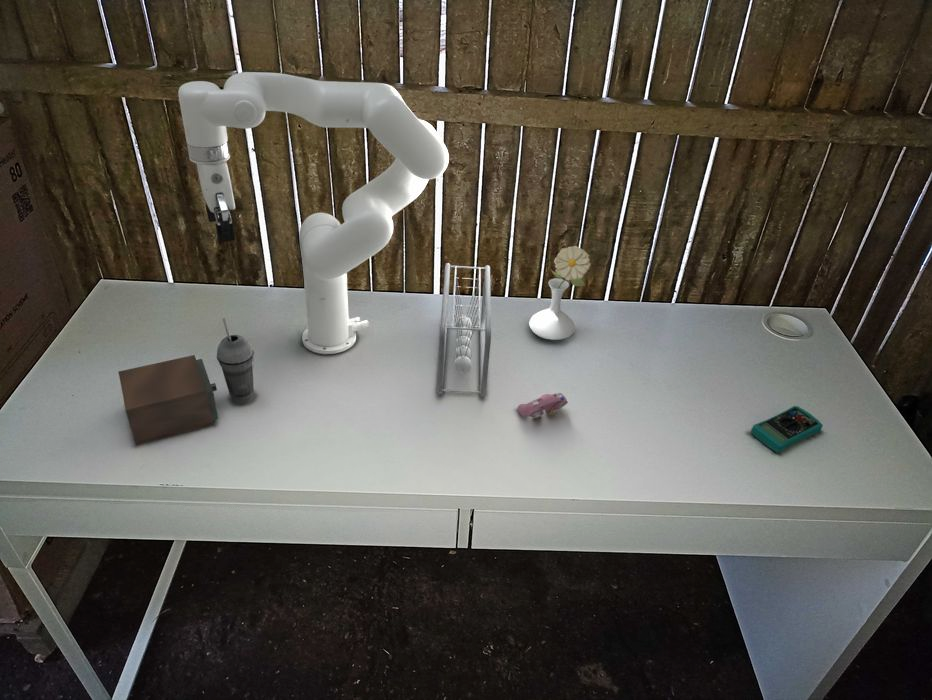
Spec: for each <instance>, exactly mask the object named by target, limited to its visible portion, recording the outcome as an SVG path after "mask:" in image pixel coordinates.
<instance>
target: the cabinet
mask: <svg viewBox="0 0 932 700" xmlns="http://www.w3.org/2000/svg"><path fill="white" fill-rule="evenodd" d="M197 360H198V359H197V357H196V355H195V354H193V355H188V356H183V357H179V358H174V359H170V360H165V361H161V362H155V363H151V364H147V365H142V366H141V365H140V366H136V367H132V368H128V369H124V370H119V371H118V377H119V383H120V388H121V393H122V399H123V403H124V409H125V413H126V417H127V420H128V423H129V427H130V430H131V433H132V436H133V440H134V444H135V446H139V445H142V444H146V443H150V442H153V441H157V440H161V439H162V440H163V439H166V438H170V437H173V436H178V435H181V434H185V433H189V432H193V431H197V430H200V429H205V428H208V427H213V426H214V420H212V415H211V411H210V406H209V401H208V396H207V391H206V388H205V385H204V382H203V379H202V376H201V372H200V369H199V366H198V363H197Z"/></svg>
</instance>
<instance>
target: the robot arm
mask: <svg viewBox="0 0 932 700" xmlns="http://www.w3.org/2000/svg"><path fill="white" fill-rule="evenodd" d="M177 95H178V100H179V101H178V102H179V109H180V113H181V119H182V124H183V131H184V136H185V140H186V141H185V142H186V147H187V152H188V156H189V157H188V159H189V161H190V162H192V163H194V164H196V169H197V175H198V180H199V185H200V189H201V193H202V197H203V200H204V201H205V208H206V214H207V220H208V222H210V223H214V222H216V223H215V231H216V236H217V241H218V243H219V244H221V243H227V242H234V241H235V240H236V237H235V231H234V224H233V223H234V222H233V221H232V216H231V213H230V211H231V210H232V211H234V210H235V209H236V202H235V197H234V193H233V192H234V191H233V185H232V179H231V176H230V171H229V167H228V163H227V162H228V160H230V158H231V153H230V145H229V138H228V131H227V130H228V129H227V128H235V129H247V130H248V129H253V128H255V127H257V126H259V125H260V124H261V123H262V122H263V121H264V120H265V117H266V112H282V113H288V114H291V115H292V114H293V115H295V116H298V117H300V118H302V119H304V120H305V121H307V122H309V123H310V124H313V125H315V126H317V127H320V128H326V129H327V128H337V129H338V128H340V129H341V128H344V129H345V128H346V129H347V128H349V129H368V130H369V131H370V133H371V135H372V136H373V137H374V138H375V139H376V140H377V142H379V143H380V144H381V146H383V148H384V149H386V150H387V152H389V153H390V154H391V155H392V156H393V157H394V158H395V159H394V160H393V161H392V163H391V165H390V166H389V167H388V168H386V169H385V170H384V171H383V172H381V173H380V174H379V175H378V176H376V177H375V178H373V179H372V180H370V181H369V182H367V183H366V184H364V185H363V186H361V187H360V188H358V189H356V190H355V191H354V192H352V193H350V194H349V195H348V196H347V197H346V198H345V199H344V200H343V202H342V205H341V206H342V207H341V212H342V213H341V214H342V218H343V221H344V222H343V223H342V224H341V222H340V221H339V220H338V219H337V218H336V217H335V216H333V215H332V214H330V213H327V212H315V213H312V214H310V215H309V216H307V217H306V218H305V219H304V221H302V223H301V226H300V229H299V235H298V238H299V239H298V241H299V247H300V254H301V264H302V265H301V266H302V274H303V282H304V283H303V285H304V286H303V287H304V299H305V309H306V310H305V311H306V322H307V327H306V328H305V329H304V331H303V332H302V335H301V338H302V341H301V342H302V343H303V346H304V347H305V348H306V349H308V350H309V351H310V352H313V353H316V354H320V355H334V354H339V353H343V352H345V351H347V350H349V349H350V348H351V347H352V346H354V344H355V343H356V341H357V331H358V330H364V329H369V328H370V323H369V321H368V319H365V320H361V318H360V316H356V317H352V318H350V317H349V299H348V296H349V295H348V272H350V271H351V270H353V269H355V268H357V267H358V266H359V265H361V264H362V263H364V262H365V261H367V260H368V259H370V258H371V257H373V256H375V255H376V254H378V253H379V252H380V251H382V250H383V249H384V248H385V247H386V246H387V245H388V244H389V242H390V240H391V238H392V236H393V234H394V221H393V218H392V217H393V216H395V215H396V214H397V213H399V212H401V211H402V210H403V209H404V208H406V207H407V206H408V205H410V204H411V203H412V202H414V201H415V200H416V199H417V198H418V197H419V196H420V195H421V194H422V192H423V191H424V190H425V188H426V186H427V184H428V182H429V180H433V179H437V178H439V177H440V176H442V175H443V174H444V173H445V171H446V169H447V168H448V165H449V160H450V155H449V154H450V153H449V151H448V148H447V146H446V144H445V143H444V141H443V140H442V138H441V137H440V135H439V133H438V132H437V131H436V129H435V128H434V127H433V125H431V124H430V123H429V122H427V121H426V120H423V119H419V118H418V117H417V116H416V115H415V113H414V112H413V111H412V110H411V109H410V107H409V106H408V105H407V104H406V102H405V101H404V99H403V97H402V95H401V94H400V93H399V91H398V90H397V89H396V88H395V87H393V85H390V84H387V83H382V82H367V81H362V82H361V81H330V80H329V81H328V80H316V79H312V78H308V77H303V76H297V75H292V74H287V73H280V72H265V71H263V72H260V71H259V72H258V71H244V72H237V73H234V74H233V75H231V76H229V77H228V78H227V79H226V81H225V82H224V85H223V89H221V88H220V87H219V86H218V85H217V84H216V83H214V82H210V81H206V80H194V81H189V82H185V83H183V84H182V85H181V86H179V88H178V92H177Z"/></svg>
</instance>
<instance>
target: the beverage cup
mask: <svg viewBox="0 0 932 700" xmlns="http://www.w3.org/2000/svg"><path fill="white" fill-rule="evenodd" d="M222 322H223V325H224V326H223V327H224V328H225V333H226V335H227V336H225V337H224V338H222V340H221V341H220V342H219V343H218V345H217V347H216V348H217V349H216V359H217V361H218V363H219V366H220V367H221V370H222V374H223V378H224V380H225V384H226V387H227V390H228V391H227V392H228V394H229V396H230V398H231V402H232V403H233V404H236V405H240V406H242V405H246V404H249V403H251V402H252V401H253V399H254V392H255V391H254V369H253V367H254V365H253V363H254V355H255V351H254V348H253V346H252V344H251V342H249V340H248V339H247V338H245V337H244V336H242V335H239V334H230V330H229V327H228V324H227V323H228V322H227V320H226V318H225V317H223V318H222Z"/></svg>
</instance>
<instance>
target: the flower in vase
mask: <svg viewBox="0 0 932 700" xmlns="http://www.w3.org/2000/svg"><path fill="white" fill-rule="evenodd" d="M589 257H590V255H589V253H587V251H585V250H584V249H583V248H580V247H579V246H577V245H574V246H568V247H565V248H561V249H560V251H559V252H558V253H557V255H556V257H555V258H554V260H553V263H554V268H556V269H555V271H553V270H552V269H550V272H551V273H552V274H553V275H554V276H555V277H556V278H550V279H549V280H548V283H547V284H548V286H549V288H550V291H551V301H550V305H549V307H548V308H546V309H543V310H540V311H538V312H537V313H534V314H533V315H532V316H531V318H530V319H529V322H528V326H529V328H530V329H531V331H532V332H533V333H534V334H535V335H536V336H538V337H540V338H542V339H545V340H550V341H559V340H561V341H562V340H565V339H568V338H569V337H571V336H572V335H573V334H574V333H575V331H576V326H575V323H574V321H573V319H572V318H571V317H570V316H569V315H568V314H567V313H566V312H564V311H562V310H561V301H562V298H563V294H564V293H565V291H566V290H567V289H568V288H569V287H570V283H571V284H572V285H573V286H574V287H585V286H586V283H585V281H584V280H583V277H585V274H586V273H587V272H588V270H589V269H590V267H591V263H590V261H591V260H590V258H589ZM568 281H570V283H569V282H568Z"/></svg>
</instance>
